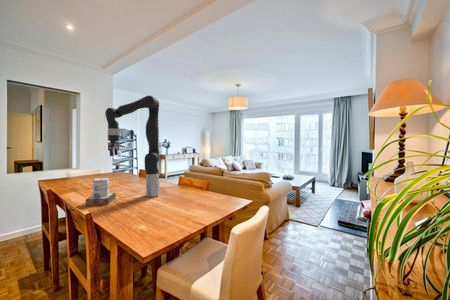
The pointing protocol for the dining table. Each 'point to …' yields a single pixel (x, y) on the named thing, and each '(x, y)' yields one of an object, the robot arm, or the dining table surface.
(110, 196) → the base
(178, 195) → the dining table surface
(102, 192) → the ink box
